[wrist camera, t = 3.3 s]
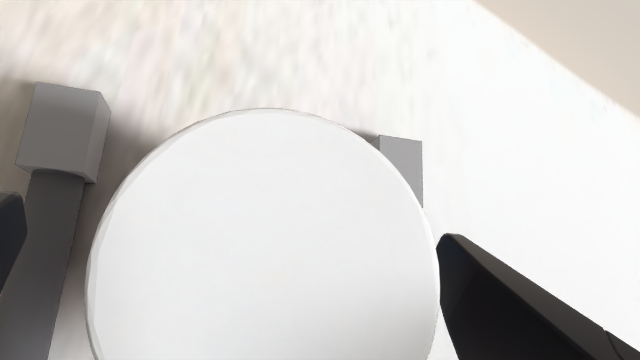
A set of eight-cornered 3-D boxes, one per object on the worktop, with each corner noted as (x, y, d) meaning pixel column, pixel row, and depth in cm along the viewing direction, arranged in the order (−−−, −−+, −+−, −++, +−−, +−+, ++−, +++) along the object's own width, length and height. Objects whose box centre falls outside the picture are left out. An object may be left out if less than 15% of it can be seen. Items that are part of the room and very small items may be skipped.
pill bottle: (130, 226, 15) (-59, 103, 4) (280, 182, 17) (398, 25, 6) (174, 385, 14) (71, 710, 4) (327, 320, 16) (551, 402, 6)
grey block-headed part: (27, 520, 12) (-1, 559, 10) (-50, 527, 12) (-92, 570, 10) (111, 111, 16) (100, 91, 14) (54, 102, 15) (36, 81, 13)
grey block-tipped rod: (404, 487, 15) (428, 513, 14) (356, 491, 15) (375, 518, 13) (403, 153, 19) (421, 141, 17) (364, 147, 18) (379, 134, 17)
